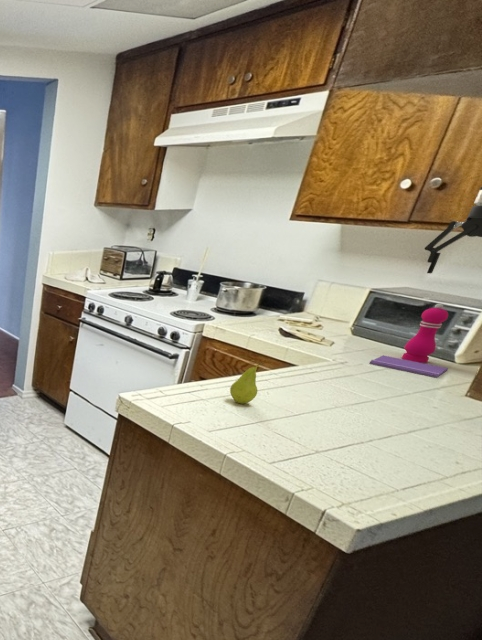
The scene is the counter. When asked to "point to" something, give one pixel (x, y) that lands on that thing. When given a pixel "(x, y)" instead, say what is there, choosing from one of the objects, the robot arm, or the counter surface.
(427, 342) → the pepper mill
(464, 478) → the counter surface
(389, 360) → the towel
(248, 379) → the fruit
